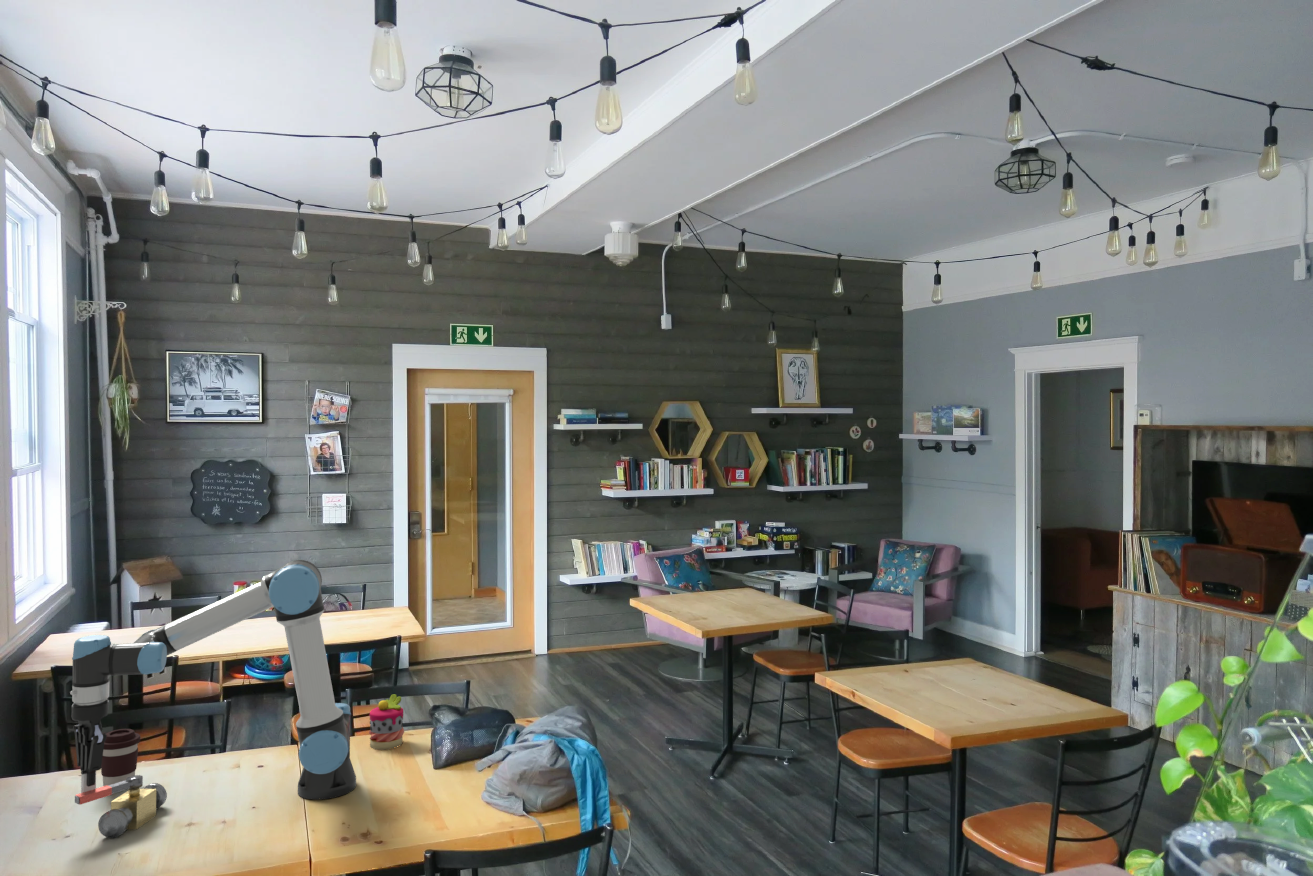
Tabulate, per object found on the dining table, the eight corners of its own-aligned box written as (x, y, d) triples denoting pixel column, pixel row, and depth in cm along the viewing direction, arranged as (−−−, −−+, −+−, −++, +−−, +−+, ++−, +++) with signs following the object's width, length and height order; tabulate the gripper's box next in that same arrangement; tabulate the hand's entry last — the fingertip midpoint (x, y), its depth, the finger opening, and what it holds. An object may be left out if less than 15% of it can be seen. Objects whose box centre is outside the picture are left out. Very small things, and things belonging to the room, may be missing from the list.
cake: (389, 752, 264) (389, 703, 265) (361, 747, 268) (362, 699, 268) (410, 741, 274) (410, 694, 274) (383, 737, 278) (383, 691, 278)
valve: (145, 805, 224) (145, 772, 224) (169, 805, 224) (170, 773, 224) (94, 840, 204) (94, 804, 204) (120, 840, 204) (121, 804, 204)
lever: (138, 782, 217) (138, 774, 217) (145, 786, 215) (145, 777, 215) (73, 803, 204) (73, 793, 204) (80, 806, 202) (80, 797, 202)
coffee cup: (119, 795, 230) (120, 739, 231) (88, 792, 232) (89, 737, 233) (148, 781, 240) (148, 728, 240) (118, 778, 242) (118, 725, 242)
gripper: (62, 699, 208) (59, 796, 208) (83, 710, 200) (81, 810, 200) (96, 692, 214) (94, 786, 214) (119, 702, 206) (116, 800, 206)
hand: (88, 797), depth 207 cm, fingers closed
